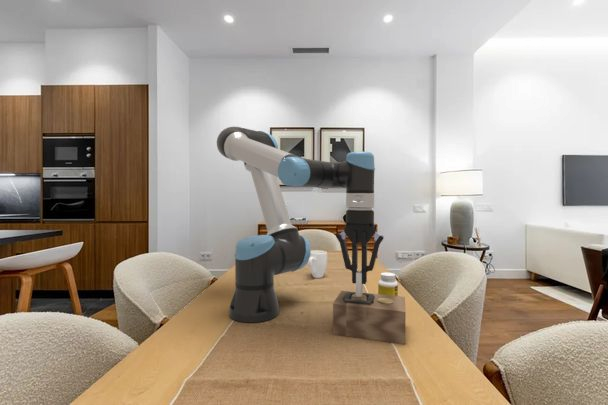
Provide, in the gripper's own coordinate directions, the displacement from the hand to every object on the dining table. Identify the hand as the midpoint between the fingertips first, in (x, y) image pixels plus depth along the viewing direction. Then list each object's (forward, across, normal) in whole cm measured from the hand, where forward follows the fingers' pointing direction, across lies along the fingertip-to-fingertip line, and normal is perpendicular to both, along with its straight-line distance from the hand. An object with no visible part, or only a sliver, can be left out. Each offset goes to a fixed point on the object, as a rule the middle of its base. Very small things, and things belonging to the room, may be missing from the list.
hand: (359, 295), depth 85 cm
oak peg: (+9, 0, 0) cm, 9 cm away
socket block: (+9, +3, 0) cm, 10 cm away
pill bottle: (+9, +7, +19) cm, 22 cm away
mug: (+9, -25, +48) cm, 55 cm away
